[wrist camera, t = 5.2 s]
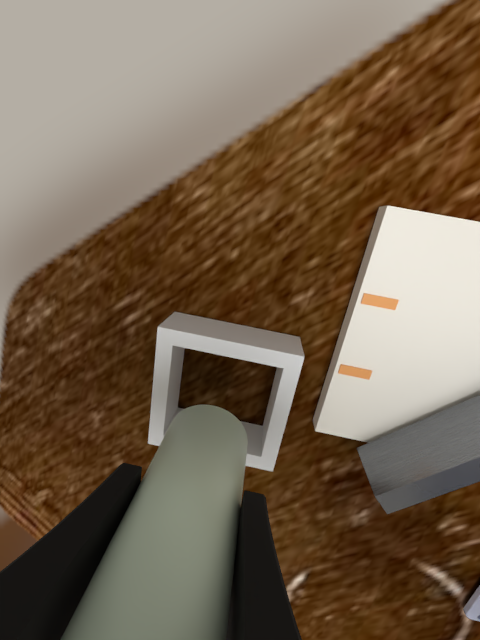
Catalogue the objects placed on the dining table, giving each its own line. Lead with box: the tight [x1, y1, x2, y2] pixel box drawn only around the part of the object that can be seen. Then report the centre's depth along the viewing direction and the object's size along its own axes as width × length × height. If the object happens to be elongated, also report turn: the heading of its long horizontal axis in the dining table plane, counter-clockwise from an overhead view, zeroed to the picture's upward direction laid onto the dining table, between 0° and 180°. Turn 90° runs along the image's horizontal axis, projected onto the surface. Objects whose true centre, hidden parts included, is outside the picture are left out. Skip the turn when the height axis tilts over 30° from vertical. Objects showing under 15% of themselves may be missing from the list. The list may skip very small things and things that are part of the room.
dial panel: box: [313, 206, 480, 443], centre depth 14 cm, size 13×12×1 cm
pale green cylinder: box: [61, 405, 248, 640], centre depth 8 cm, size 3×3×9 cm
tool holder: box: [148, 312, 304, 472], centre depth 16 cm, size 7×7×2 cm
